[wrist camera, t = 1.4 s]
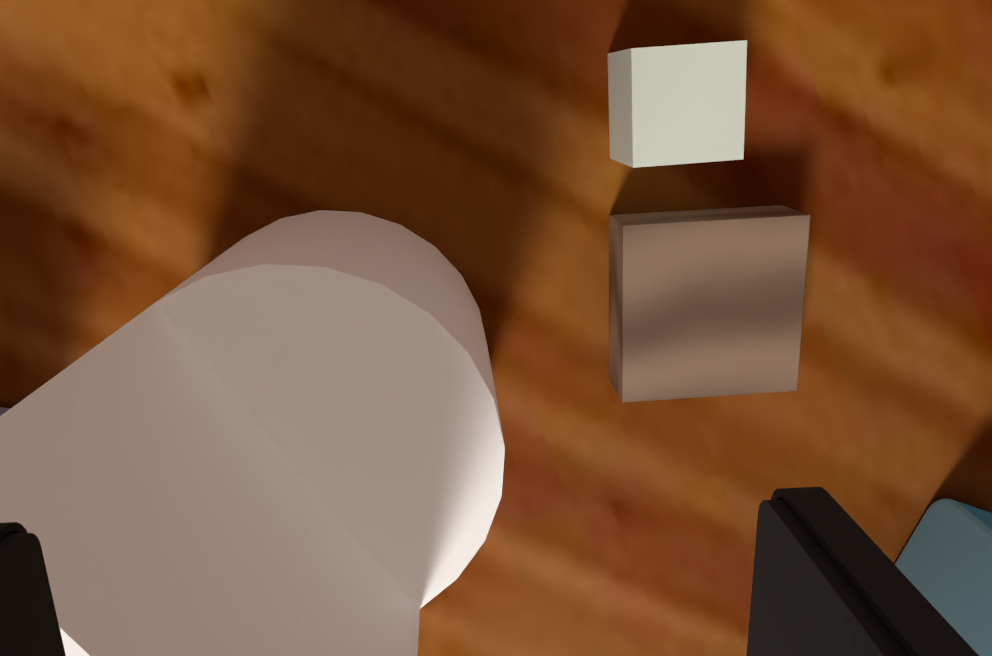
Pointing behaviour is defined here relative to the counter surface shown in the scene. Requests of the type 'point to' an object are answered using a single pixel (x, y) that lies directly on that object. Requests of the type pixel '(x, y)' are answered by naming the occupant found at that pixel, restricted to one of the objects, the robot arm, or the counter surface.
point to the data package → (954, 568)
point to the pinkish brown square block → (706, 301)
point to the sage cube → (677, 103)
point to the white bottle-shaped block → (267, 453)
